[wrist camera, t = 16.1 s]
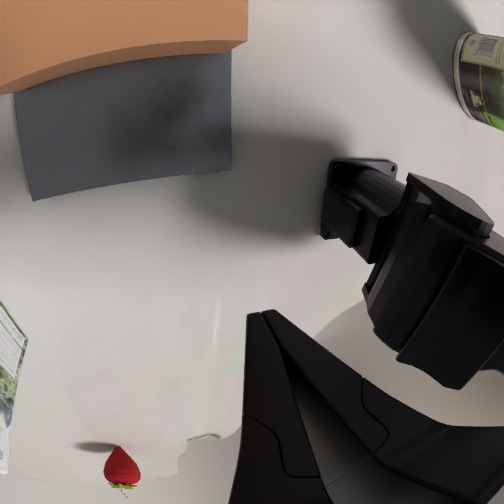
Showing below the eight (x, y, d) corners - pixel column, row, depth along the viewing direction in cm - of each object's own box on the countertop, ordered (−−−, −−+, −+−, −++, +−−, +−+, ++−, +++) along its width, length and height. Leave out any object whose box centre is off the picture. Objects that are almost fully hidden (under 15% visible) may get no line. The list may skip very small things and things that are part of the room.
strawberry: (144, 446, 38) (152, 497, 30) (120, 454, 39) (125, 500, 31) (118, 438, 35) (124, 493, 27) (94, 446, 36) (98, 495, 28)
